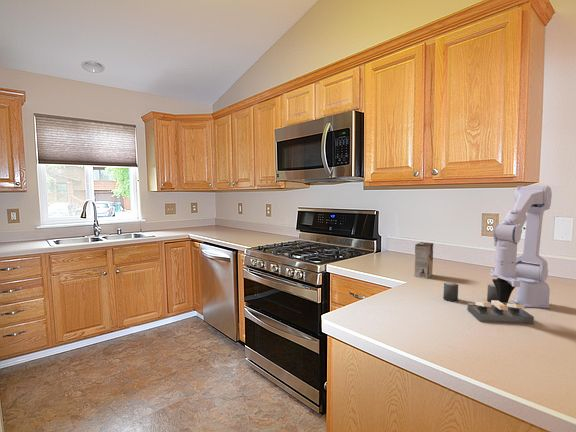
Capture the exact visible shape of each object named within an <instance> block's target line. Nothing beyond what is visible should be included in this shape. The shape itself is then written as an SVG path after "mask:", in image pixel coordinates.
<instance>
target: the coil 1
mask: <svg viewBox="0 0 576 432" xmlns="http://www.w3.org/2000/svg"><path fill="white" fill-rule="evenodd" d="M442 296H443V297H442V298H443V301H447V302H451V303H455V302H458V301H459V284H458V283H456V282H451V281H446V282H443V295H442Z"/></svg>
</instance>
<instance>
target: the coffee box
mask: <svg viewBox="0 0 576 432" xmlns="http://www.w3.org/2000/svg"><path fill="white" fill-rule="evenodd" d="M414 246H415V248H414V277H415V278H421V279H429V278H430V277H431V276H432V275H433V269H434V268H433V267H434V266H433V263H434V262H433V260H434V242H424V241H420V242H418V243H416V244H415V245H414Z"/></svg>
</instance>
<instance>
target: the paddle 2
mask: <svg viewBox="0 0 576 432" xmlns="http://www.w3.org/2000/svg"><path fill="white" fill-rule="evenodd" d="M506 305H507V306H508V307H513V308H521V309H525V308H526V307H524V305H522V304H517V303H509V302H508V303H506Z"/></svg>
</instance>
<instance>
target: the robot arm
mask: <svg viewBox="0 0 576 432" xmlns="http://www.w3.org/2000/svg"><path fill="white" fill-rule="evenodd" d="M514 190H515V191H514V201H515V205H514V207H513V209H511V210H508V211H507V213H506V215H505V216H504V218H503V220H502V221H501V223H500V224H498V225H495V226H494V229H493V240H494V242H493V243H494V244H493V245H494V247H495V259H494V268H491V269H490V276H491V277H494V278H493V279H492V284H494V285H495V287H496V290H497V295H498V299H499V301H500V302H501V303H503V304H504V303H506V304H507V303H509V300H511V301H512V302H514V303H515V304H522V305H524V307H525V308H526V307H527V308H545V309H546V308H547V309H550V308H551V307H550V306H549V305H550V292H551V291H550V286H549V284H548V283H547V282H546V281H547V278H548V274H549V270H548V269H549V268H548V261H547V260H546V259H544V258H543V257H542V255H540V247H541V237H542V236H541V235H542V227H543V226H542V225H543V217H544V213H545V211H547V210H549V209H550V208H551V205H552V195H553V194H552V188H551V187H550V186H549V185H547V186H543V185H542V186H531V185H530V186H529V185H528V186H522V185H518V186H517V187H516V188H515V189H514ZM524 225H525V231H524V240H523V248H522V249H523V250H522V254H520V255H518V244H519V242H520V241H521V238H522V233H523V228H524ZM515 288H516V292H515V293H516V296H515V298H514V297H513V298H510V297H511V295H512V293H513V290H514V289H515Z"/></svg>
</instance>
